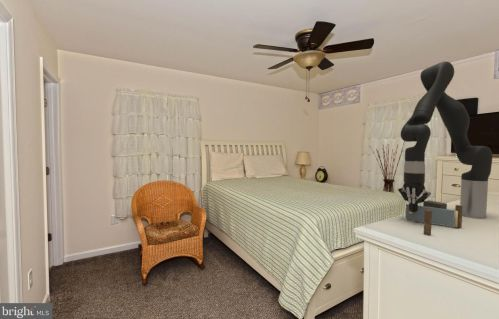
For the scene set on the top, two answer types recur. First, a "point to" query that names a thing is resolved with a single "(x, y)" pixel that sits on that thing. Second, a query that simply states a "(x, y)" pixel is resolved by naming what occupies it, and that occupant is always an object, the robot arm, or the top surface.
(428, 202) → the block
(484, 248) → the top surface
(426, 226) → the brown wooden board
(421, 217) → the door
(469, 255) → the top surface
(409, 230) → the top surface
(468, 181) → the robot arm
